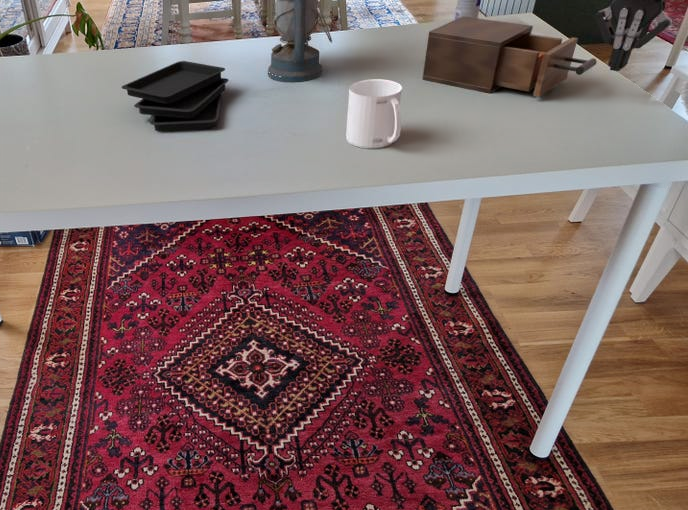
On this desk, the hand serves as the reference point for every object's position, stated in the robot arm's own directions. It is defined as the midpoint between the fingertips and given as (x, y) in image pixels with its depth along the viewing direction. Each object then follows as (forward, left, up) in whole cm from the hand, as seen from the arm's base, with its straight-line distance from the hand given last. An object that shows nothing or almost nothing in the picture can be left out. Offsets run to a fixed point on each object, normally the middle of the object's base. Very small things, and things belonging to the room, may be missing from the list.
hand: (615, 69), depth 120 cm
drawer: (+15, 0, -5) cm, 16 cm away
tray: (+69, +50, -6) cm, 85 cm away
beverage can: (+46, -29, -6) cm, 55 cm away
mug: (+25, +41, -6) cm, 48 cm away
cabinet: (+28, 0, -6) cm, 29 cm away
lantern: (+62, +18, -6) cm, 65 cm away
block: (+16, 0, -4) cm, 17 cm away
